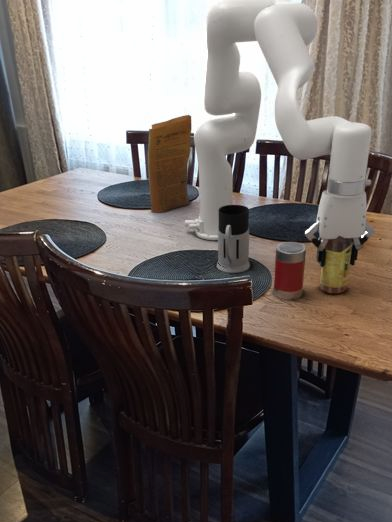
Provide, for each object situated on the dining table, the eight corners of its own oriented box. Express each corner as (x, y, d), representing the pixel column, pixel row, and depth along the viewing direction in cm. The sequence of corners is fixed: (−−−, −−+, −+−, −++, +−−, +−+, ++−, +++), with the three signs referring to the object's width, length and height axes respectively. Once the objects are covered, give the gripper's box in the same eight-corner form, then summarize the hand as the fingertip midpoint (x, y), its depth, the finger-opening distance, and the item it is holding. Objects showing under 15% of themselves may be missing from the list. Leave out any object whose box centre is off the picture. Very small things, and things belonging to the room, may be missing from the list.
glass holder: (252, 259, 141) (253, 204, 133) (244, 283, 130) (245, 224, 122) (220, 257, 143) (219, 203, 135) (209, 281, 132) (208, 223, 123)
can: (276, 300, 122) (278, 253, 116) (271, 287, 128) (273, 241, 121) (304, 299, 122) (309, 251, 116) (299, 286, 128) (302, 240, 122)
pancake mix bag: (200, 202, 182) (198, 114, 166) (156, 216, 172) (149, 124, 156) (187, 198, 186) (184, 112, 170) (143, 211, 176) (136, 121, 160)
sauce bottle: (346, 296, 123) (358, 212, 112) (319, 294, 124) (328, 211, 113) (345, 283, 128) (357, 202, 117) (319, 281, 129) (328, 201, 118)
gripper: (380, 179, 116) (367, 255, 126) (301, 182, 116) (295, 258, 126) (392, 189, 110) (378, 269, 120) (309, 193, 109) (302, 272, 119)
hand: (335, 263), depth 123 cm, fingers closed on sauce bottle, 6 cm apart
